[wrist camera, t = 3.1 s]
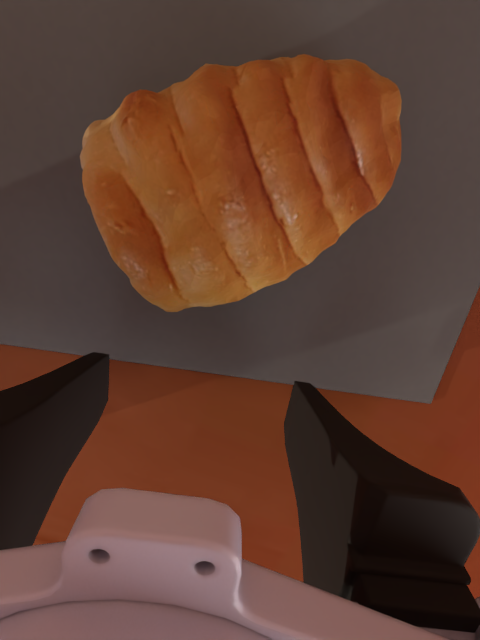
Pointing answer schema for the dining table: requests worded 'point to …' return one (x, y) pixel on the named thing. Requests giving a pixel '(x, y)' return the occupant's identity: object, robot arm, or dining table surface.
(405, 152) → the placemat
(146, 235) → the pastry
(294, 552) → the dining table surface
